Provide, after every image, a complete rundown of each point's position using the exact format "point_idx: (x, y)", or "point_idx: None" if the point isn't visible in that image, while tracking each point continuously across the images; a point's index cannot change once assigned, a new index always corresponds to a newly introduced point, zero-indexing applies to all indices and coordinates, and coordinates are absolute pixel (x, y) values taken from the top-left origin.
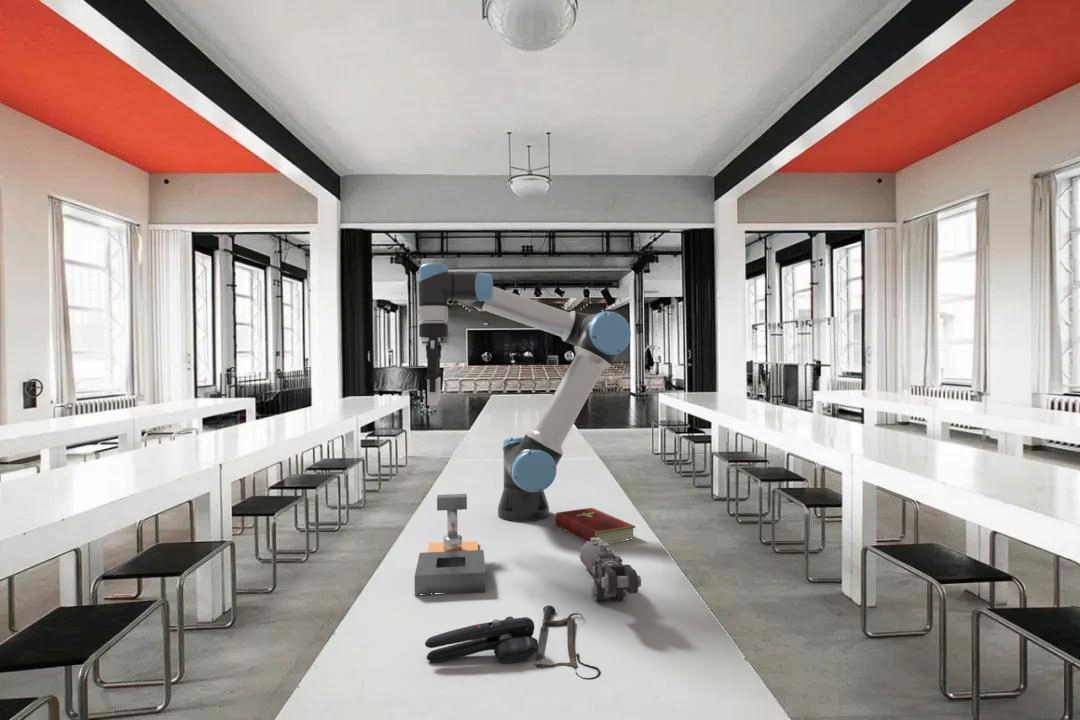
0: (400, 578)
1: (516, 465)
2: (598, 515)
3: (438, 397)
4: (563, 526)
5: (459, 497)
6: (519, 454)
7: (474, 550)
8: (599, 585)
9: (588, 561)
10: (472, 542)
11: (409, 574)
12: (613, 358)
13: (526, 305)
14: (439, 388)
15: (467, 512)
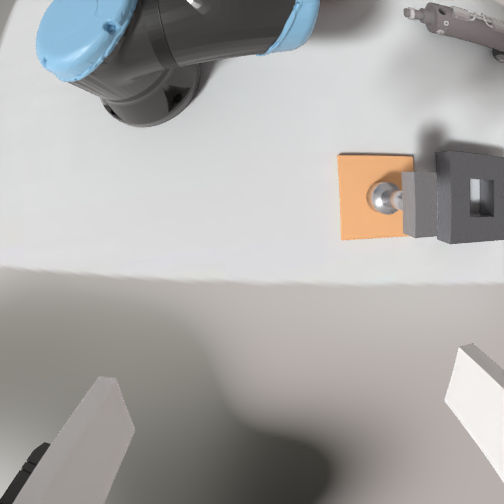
0: (453, 260)
1: (312, 28)
2: None
3: (110, 403)
4: None
5: (436, 187)
6: (284, 6)
7: (450, 164)
8: None
9: (490, 43)
10: (346, 164)
11: (444, 251)
12: None
13: None
14: (79, 444)
15: (124, 190)
